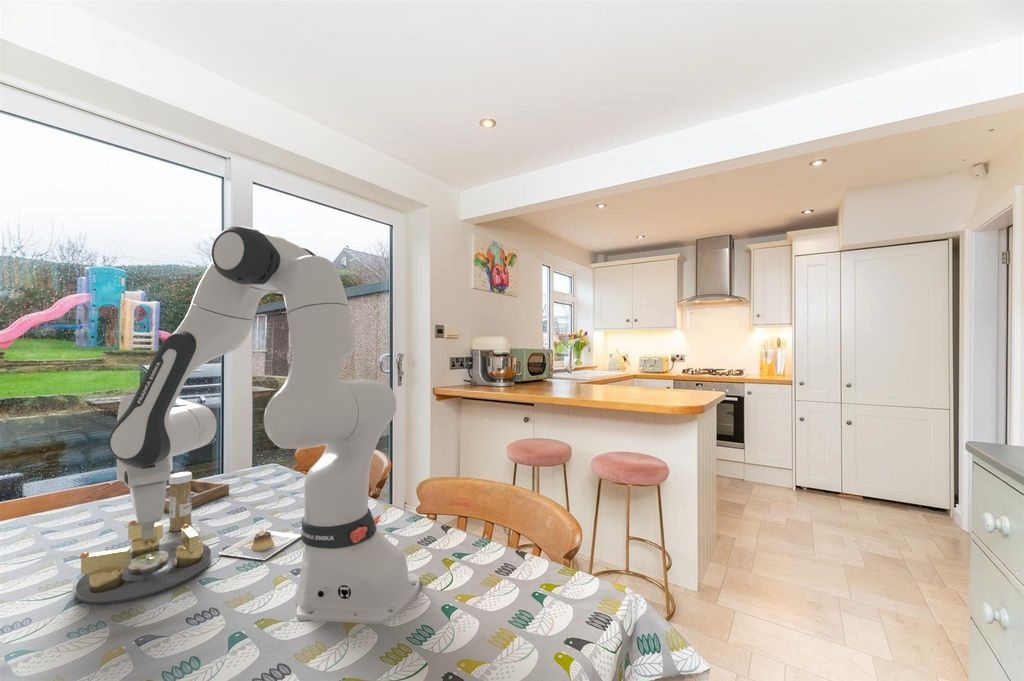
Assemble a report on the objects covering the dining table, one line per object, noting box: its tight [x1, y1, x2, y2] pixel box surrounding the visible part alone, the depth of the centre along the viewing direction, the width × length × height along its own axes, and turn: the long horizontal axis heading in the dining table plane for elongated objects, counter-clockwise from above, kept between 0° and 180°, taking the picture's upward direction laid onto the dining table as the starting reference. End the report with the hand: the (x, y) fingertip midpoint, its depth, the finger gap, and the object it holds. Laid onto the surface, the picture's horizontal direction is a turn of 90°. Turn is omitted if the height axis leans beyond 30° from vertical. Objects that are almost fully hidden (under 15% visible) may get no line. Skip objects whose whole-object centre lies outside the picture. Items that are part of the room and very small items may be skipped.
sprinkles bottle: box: [168, 471, 193, 532], centre depth 105 cm, size 5×5×14 cm
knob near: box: [176, 524, 204, 567], centre depth 85 cm, size 7×4×7 cm, turn 50°
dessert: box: [217, 528, 302, 561], centre depth 96 cm, size 12×12×5 cm
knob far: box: [127, 520, 164, 558], centre depth 88 cm, size 7×4×7 cm, turn 86°
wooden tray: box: [164, 479, 230, 513], centre depth 123 cm, size 15×15×3 cm
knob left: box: [79, 546, 132, 593], centre depth 77 cm, size 7×4×7 cm, turn 115°
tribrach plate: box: [75, 541, 212, 606], centre depth 84 cm, size 20×20×4 cm
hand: (145, 531), depth 88 cm, fingers open, 6 cm apart
